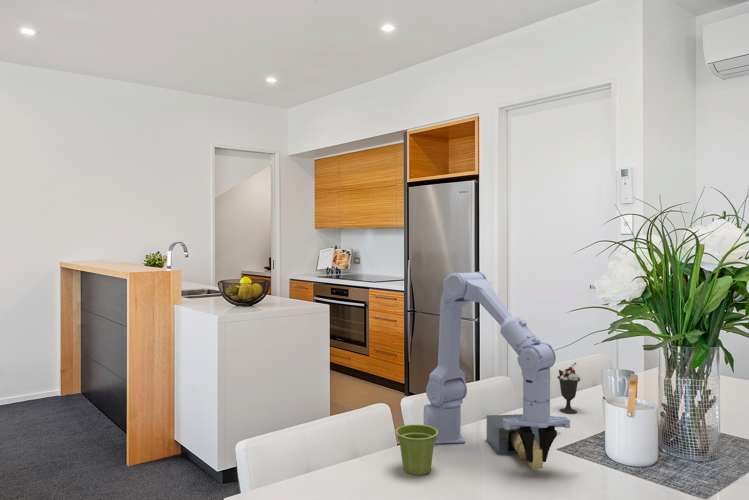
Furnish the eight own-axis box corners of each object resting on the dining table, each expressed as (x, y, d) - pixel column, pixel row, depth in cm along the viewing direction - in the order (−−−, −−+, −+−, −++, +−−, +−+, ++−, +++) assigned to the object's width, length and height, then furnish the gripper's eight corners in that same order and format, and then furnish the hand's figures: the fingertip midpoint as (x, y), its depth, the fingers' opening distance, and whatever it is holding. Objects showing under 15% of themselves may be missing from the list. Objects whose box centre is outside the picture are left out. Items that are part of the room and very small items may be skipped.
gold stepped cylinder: (525, 471, 119) (526, 447, 119) (506, 448, 132) (506, 427, 132) (549, 470, 119) (549, 446, 119) (526, 448, 132) (526, 426, 132)
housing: (498, 454, 130) (498, 428, 130) (486, 440, 140) (486, 415, 140) (539, 453, 131) (539, 427, 131) (524, 439, 141) (524, 414, 141)
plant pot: (409, 482, 115) (409, 441, 115) (388, 466, 123) (388, 427, 123) (446, 474, 119) (446, 434, 119) (423, 458, 127) (423, 422, 127)
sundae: (583, 414, 161) (584, 364, 161) (561, 414, 161) (561, 364, 161) (575, 408, 168) (576, 359, 168) (553, 408, 168) (554, 359, 168)
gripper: (510, 404, 115) (510, 468, 115) (576, 403, 116) (576, 466, 116) (499, 395, 122) (499, 456, 122) (562, 394, 123) (561, 454, 124)
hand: (536, 460), depth 120 cm, fingers closed on gold stepped cylinder, 2 cm apart
